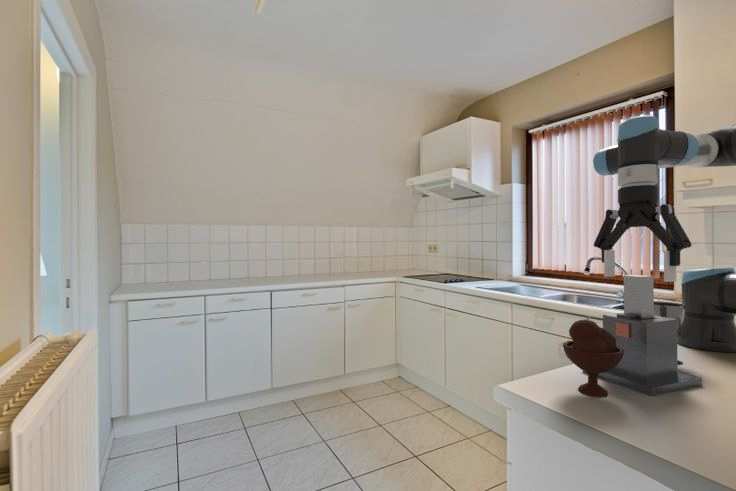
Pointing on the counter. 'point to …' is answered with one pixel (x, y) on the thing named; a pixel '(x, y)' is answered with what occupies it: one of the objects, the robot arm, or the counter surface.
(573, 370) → the counter surface
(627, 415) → the counter surface
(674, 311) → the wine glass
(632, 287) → the post
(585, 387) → the ice cream bowl
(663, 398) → the counter surface
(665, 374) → the stand housing
